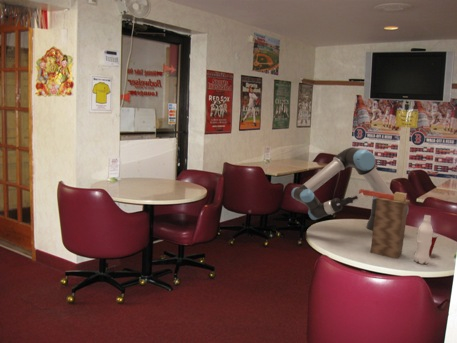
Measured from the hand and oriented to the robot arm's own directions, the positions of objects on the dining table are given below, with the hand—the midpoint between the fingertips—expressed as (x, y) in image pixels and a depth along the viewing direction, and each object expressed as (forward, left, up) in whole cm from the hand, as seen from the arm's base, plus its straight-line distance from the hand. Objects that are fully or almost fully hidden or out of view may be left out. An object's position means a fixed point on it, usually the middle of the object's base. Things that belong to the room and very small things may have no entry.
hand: (367, 193), depth 251 cm
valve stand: (+9, +10, -31) cm, 34 cm away
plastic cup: (+11, +32, -31) cm, 46 cm away
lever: (+5, +6, -1) cm, 8 cm away
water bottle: (+23, +22, -31) cm, 45 cm away
